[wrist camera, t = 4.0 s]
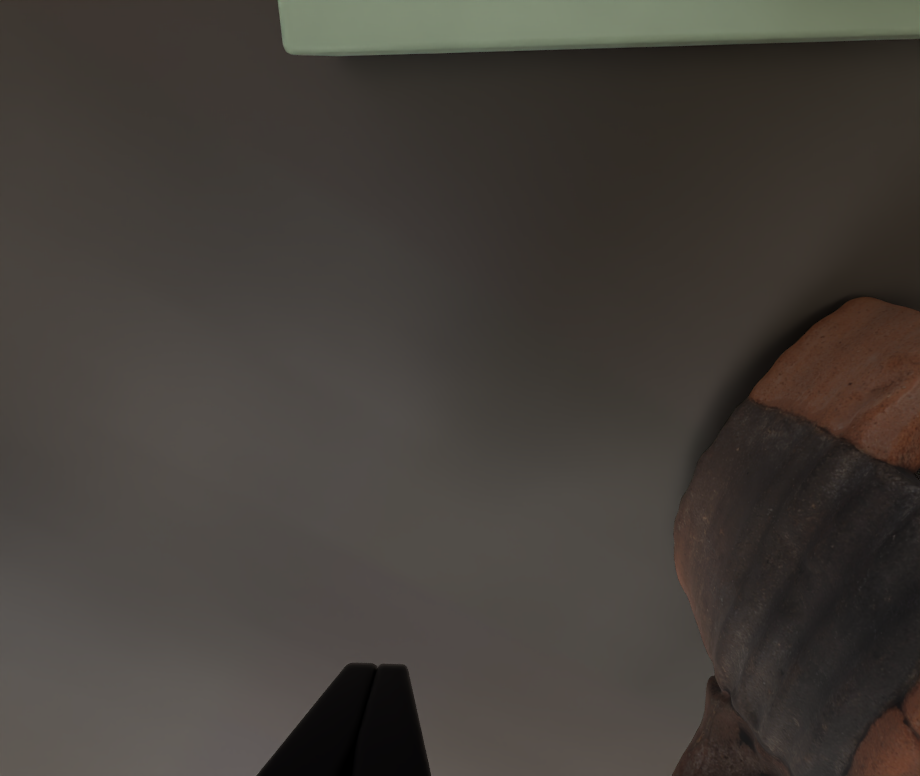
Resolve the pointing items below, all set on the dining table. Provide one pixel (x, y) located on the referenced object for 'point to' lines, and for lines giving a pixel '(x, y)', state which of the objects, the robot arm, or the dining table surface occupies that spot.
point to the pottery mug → (812, 559)
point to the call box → (580, 24)
